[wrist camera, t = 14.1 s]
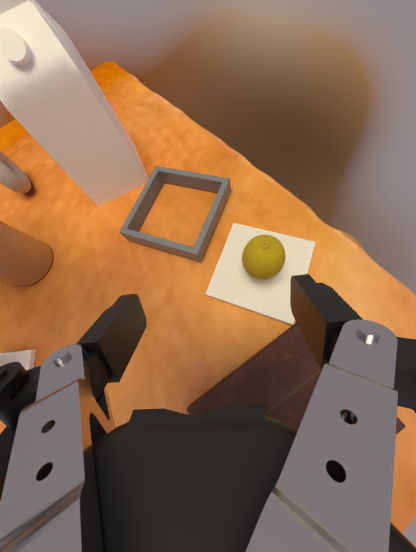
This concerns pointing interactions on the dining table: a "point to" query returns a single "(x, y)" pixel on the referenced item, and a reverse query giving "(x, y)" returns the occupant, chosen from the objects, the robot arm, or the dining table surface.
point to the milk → (64, 104)
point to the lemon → (263, 257)
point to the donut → (13, 176)
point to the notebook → (271, 382)
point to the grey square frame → (185, 180)
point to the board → (253, 292)
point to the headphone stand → (19, 358)
